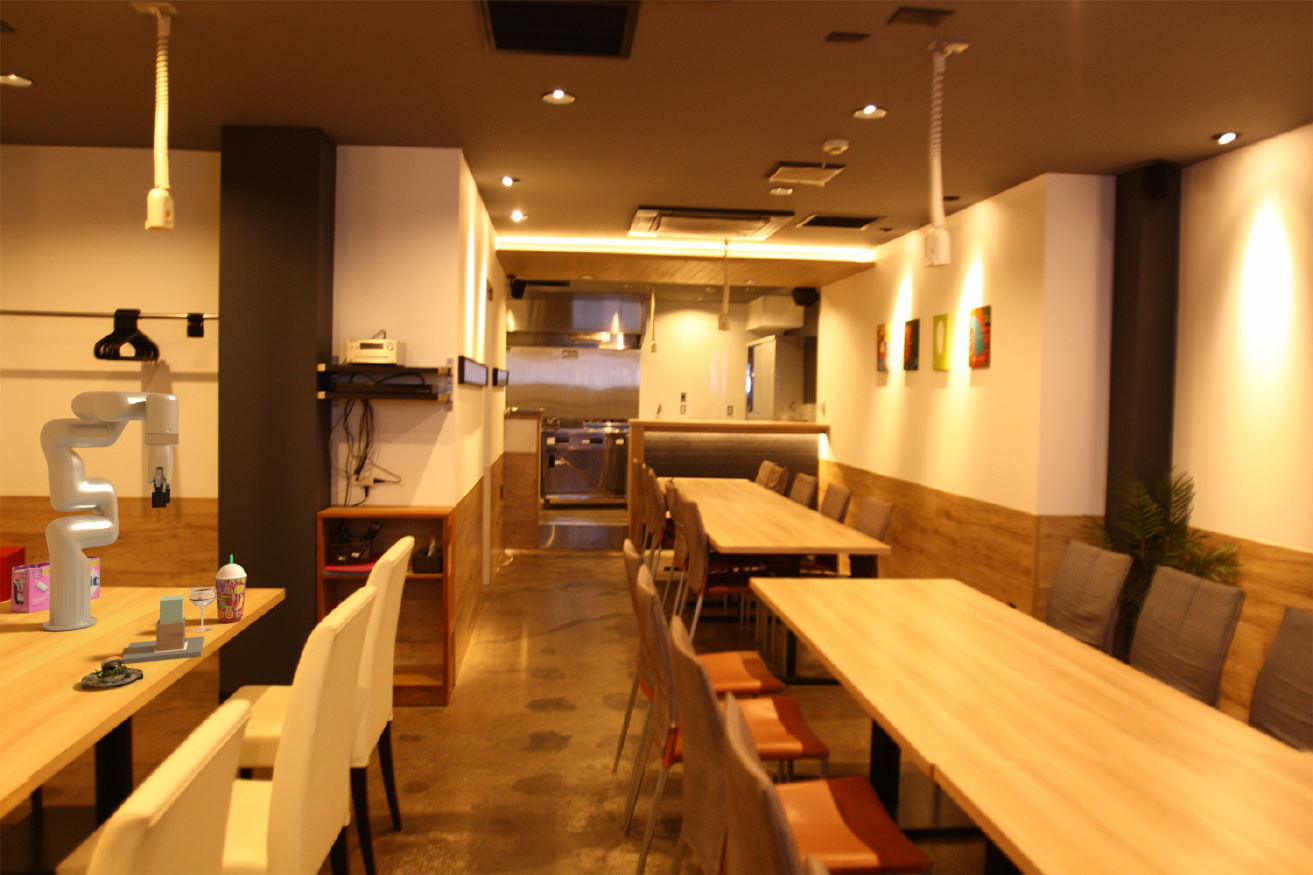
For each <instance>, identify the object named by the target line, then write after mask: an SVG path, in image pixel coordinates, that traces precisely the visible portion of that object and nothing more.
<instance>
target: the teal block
mask: <svg viewBox="0 0 1313 875" xmlns="http://www.w3.org/2000/svg"><path fill="white" fill-rule="evenodd" d="M184 599H185V598H184V595H183V594H180V595H178V594H177V595H168V596H161V597H160V600H159V619H160V624H166V623H177V622H183V617H184V603H185V602H184V601H185V600H184Z"/></svg>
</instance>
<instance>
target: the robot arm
mask: <svg viewBox="0 0 1313 875" xmlns="http://www.w3.org/2000/svg"><path fill="white" fill-rule="evenodd" d="M70 409H71V411H72V412H73V414H74V415H75V416H76V417H77V418H76V417H75V418H74V417H71V418H70V417H69V418H67V417H66V418H65V417H64V418H63V417H62V418H56V419H50V420H48V421H47V422H45V424H44V425H43V426H42V428H41V430H40V434H39V440H40V441H39V442H40V447H41V450H42V453H43V456H44V458H45V460H46V463H47V471H48V474H47V475H48V487H49V498H50V499H49V501H50V504H51V505H50V506H51V507H52V508H53V510H54V511H56V512H59V513H60V512H61V513H63V512H64V513H65V512H66V513H69V512H80V511H81V512H83V511H93V514H85V515H83V514H82V515H71V516H64V517H60V518H55V519H53V520H51V521H50V522H48V524H47V526H46V528H45V540H46V543H47V550H48V555H49V556H48V557H49V561H50V598H49V609H48V610H49V611H48V614H49V616H48V620H47V621H45V622H43V623H42V626H41V627H42V628H41V629H43V630H45V631H51V632H53V631H54V632H56V631H57V632H58V631H61V632H62V631H63V632H64V631H70V630H71V631H72V630H78V629H84V628H88V627H92V626H94V625H95V624H96V623H97V621H98V620H97V617H95V616H92V615H91V600H92V599H91V564H90V561H89V559H88V558H87V556H88V555H85V553H84V552H83V551H82V550H83V549H87V548H95V547H96V548H97V547H103V546H109V545H112V544H113V543H114V542H116V541H117V540H118V537H119V534H120V521H119V507H118V506H119V505H118V495H117V489H116V487H115V485H114V483H113V482H112V481H111V480H110V479H108V478H105V477H87V476H86V467H85V466H86V465H85V461H84V460H83V458H82V457H81V456H80V454H78V452H76V451H75V450H74V449H76V448H77V449H78V448H80V449H81V448H82V449H83V448H84V449H85V448H87V449H88V448H90V449H91V448H107V447H111V446H113V445H114V444H115V443H116V442H117V441H118V439H119V438H120V437H121V435H122V434H123V431H124V430H125V428H126V427H127V425H128V424H129V422H130V421H144V446H145V447H149V448H148V458H147V478H146V480H147V481H146V482H147V483H146V484H148V485H152V492H151V508H152V509H165V508H167V504H170V503H171V488H170V484H171V482H172V480H173V473H174V472H173V471H174V447H179V446H180V445H179V440H180V438H179V437H180V436H179V435H180V429H179V428H180V398H179V397H178V395H175V394H172V393H158V392H145V391H117V390H95V391H94V390H88V391H84V392H81V393H79V394H77V395H75V396H74V397H73V398H72V400H71V403H70ZM73 448H74V449H73Z"/></svg>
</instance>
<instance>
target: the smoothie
mask: <svg viewBox="0 0 1313 875" xmlns="http://www.w3.org/2000/svg"><path fill="white" fill-rule="evenodd" d="M229 556H230V557H229V561H230V562H229V563H227V564H225V565H224V566H222V567H220V568H219V570H218V571H217V573H216V575H215V587H216V589H215V590H216V591H215V592H216V608H217V619H219V622H220V623H223V624H231V623H237V622H239V621H241V620H242V618H243V616H244V611H245V599H246V588H247V587H246V585H247V577H248V576H247V573H246V572H245V568H243V567H242V566H240V564H239V565H238V564H237V563H234V562H233V561H234V558H233V557H234V556H233V554H230V555H229Z"/></svg>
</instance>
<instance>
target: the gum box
mask: <svg viewBox="0 0 1313 875" xmlns="http://www.w3.org/2000/svg"><path fill="white" fill-rule="evenodd" d="M86 556H87V558H88V559H89V561H90V564H91V600H95V599H100V590H101V589H100V584H101V575H100V574H101V569H100V568H101V558H100V557H97V556H89V555H86ZM11 571H12V572H11V589H10V590H11V594H10V611H13V612H18V613H23V614H30V613H34V612H35V613H36V612H40V611H41V612H42V611H45V610H49V598H50V560H49V561H42V562H38V563H37V562H36V563H30V564H24V565H19V566H13V567H12V570H11Z"/></svg>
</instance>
